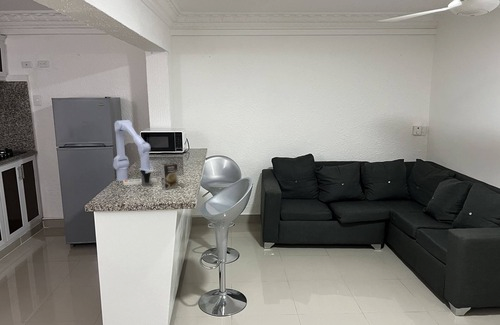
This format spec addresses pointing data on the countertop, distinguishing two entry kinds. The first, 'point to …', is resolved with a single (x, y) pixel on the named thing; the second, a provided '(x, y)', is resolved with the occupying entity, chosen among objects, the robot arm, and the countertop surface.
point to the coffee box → (169, 176)
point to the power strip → (137, 181)
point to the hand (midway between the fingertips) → (146, 181)
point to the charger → (144, 181)
